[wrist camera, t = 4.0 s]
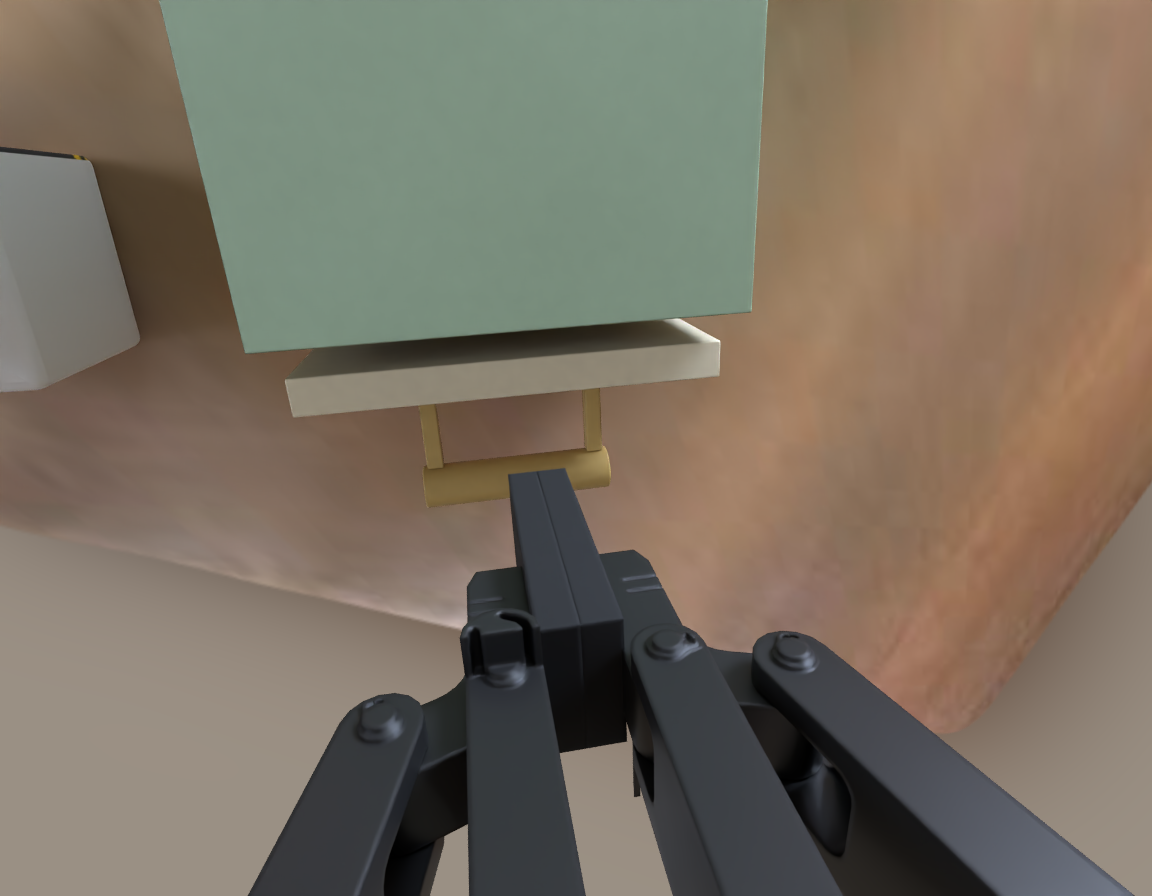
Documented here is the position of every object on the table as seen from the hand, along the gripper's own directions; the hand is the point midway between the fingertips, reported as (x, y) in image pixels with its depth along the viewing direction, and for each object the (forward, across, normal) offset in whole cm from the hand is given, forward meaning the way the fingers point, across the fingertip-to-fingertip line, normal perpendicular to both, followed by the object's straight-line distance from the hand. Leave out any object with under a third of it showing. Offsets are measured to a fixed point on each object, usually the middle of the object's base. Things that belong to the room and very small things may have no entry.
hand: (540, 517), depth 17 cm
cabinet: (+14, 0, -13) cm, 19 cm away
